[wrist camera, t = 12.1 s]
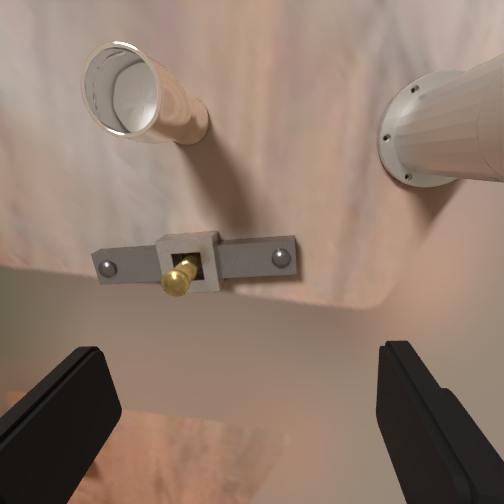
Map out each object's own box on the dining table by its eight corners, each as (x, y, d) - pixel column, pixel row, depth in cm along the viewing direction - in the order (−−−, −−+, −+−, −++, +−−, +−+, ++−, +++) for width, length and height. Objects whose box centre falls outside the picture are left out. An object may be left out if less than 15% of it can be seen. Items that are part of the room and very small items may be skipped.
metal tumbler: (171, 78, 33) (90, 18, 19) (221, 106, 34) (177, 66, 20) (152, 132, 36) (68, 114, 22) (199, 158, 36) (147, 156, 22)
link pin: (205, 247, 40) (185, 270, 32) (209, 268, 41) (190, 296, 33) (184, 248, 41) (158, 272, 32) (188, 269, 42) (164, 297, 33)
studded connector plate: (293, 225, 38) (294, 231, 34) (296, 277, 40) (297, 287, 37) (98, 239, 42) (82, 247, 38) (112, 286, 44) (98, 297, 41)
